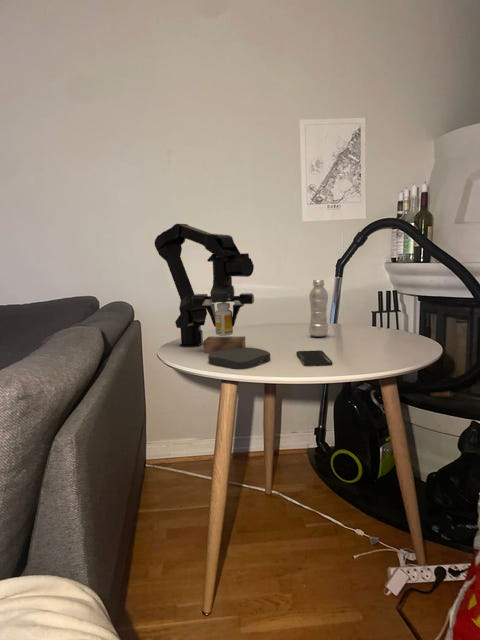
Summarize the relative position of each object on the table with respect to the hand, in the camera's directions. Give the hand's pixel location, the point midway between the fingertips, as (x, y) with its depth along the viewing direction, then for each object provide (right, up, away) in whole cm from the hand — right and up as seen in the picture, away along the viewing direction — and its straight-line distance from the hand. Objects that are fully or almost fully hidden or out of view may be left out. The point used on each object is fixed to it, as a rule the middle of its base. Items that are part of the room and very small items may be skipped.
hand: (224, 326), depth 134 cm
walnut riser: (0, -8, +1) cm, 8 cm away
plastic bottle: (+33, -4, +18) cm, 38 cm away
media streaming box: (+5, -10, -13) cm, 17 cm away
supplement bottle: (0, -3, 0) cm, 3 cm away
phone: (+26, -10, -14) cm, 31 cm away
